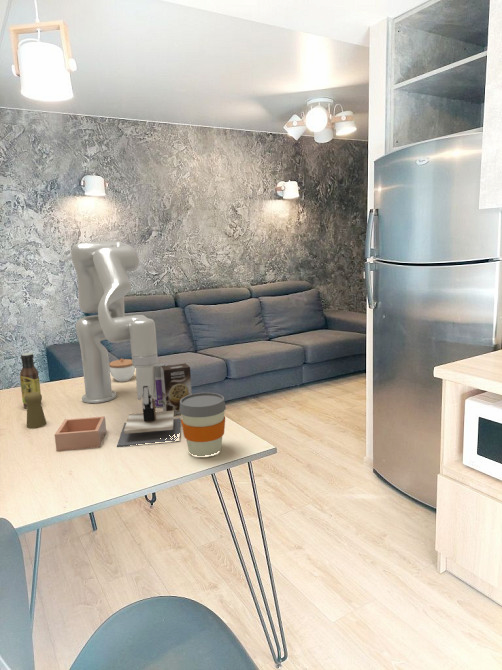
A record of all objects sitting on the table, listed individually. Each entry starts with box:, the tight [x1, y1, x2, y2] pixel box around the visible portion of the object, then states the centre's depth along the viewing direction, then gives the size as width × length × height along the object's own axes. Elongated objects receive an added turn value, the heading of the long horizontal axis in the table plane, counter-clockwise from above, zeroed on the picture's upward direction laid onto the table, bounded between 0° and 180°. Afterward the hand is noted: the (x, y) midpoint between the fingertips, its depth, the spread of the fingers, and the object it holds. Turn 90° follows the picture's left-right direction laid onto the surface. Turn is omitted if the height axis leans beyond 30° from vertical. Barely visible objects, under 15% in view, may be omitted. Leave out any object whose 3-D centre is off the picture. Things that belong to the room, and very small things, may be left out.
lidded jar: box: [109, 358, 136, 383], centre depth 209 cm, size 11×11×9 cm
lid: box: [124, 400, 175, 434], centre depth 149 cm, size 14×14×7 cm
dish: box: [54, 415, 107, 452], centre depth 145 cm, size 12×12×5 cm
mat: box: [116, 417, 182, 448], centre depth 150 cm, size 18×18×1 cm
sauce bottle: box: [19, 352, 42, 409], centre depth 177 cm, size 6×6×20 cm
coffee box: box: [161, 363, 193, 416], centre depth 166 cm, size 9×6×16 cm
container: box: [154, 362, 166, 409], centre depth 173 cm, size 5×5×15 cm
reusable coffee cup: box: [180, 392, 227, 456], centre depth 134 cm, size 13×13×15 cm
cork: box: [24, 392, 47, 429], centre depth 159 cm, size 6×6×11 cm
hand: (149, 417), depth 149 cm, fingers closed on lid, 3 cm apart
